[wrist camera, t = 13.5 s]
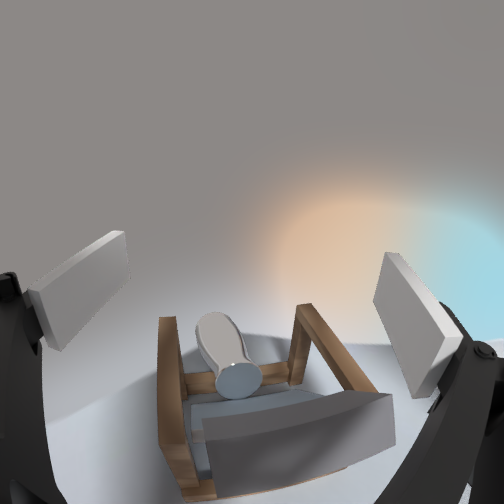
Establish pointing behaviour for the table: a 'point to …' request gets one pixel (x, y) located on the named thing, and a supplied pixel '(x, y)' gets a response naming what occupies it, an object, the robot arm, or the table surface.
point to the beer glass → (227, 356)
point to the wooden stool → (180, 385)
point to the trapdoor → (290, 436)
